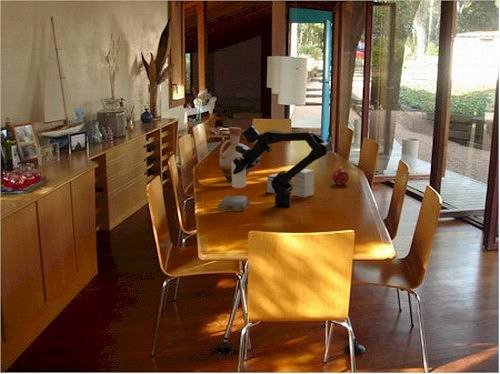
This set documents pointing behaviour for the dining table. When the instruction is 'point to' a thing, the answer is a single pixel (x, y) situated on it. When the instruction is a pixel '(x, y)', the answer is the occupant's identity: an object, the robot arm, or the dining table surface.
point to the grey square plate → (234, 207)
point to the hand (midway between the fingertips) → (236, 172)
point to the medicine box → (269, 180)
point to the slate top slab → (234, 200)
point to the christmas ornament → (340, 176)
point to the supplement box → (304, 183)
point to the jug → (230, 154)
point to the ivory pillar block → (238, 178)
